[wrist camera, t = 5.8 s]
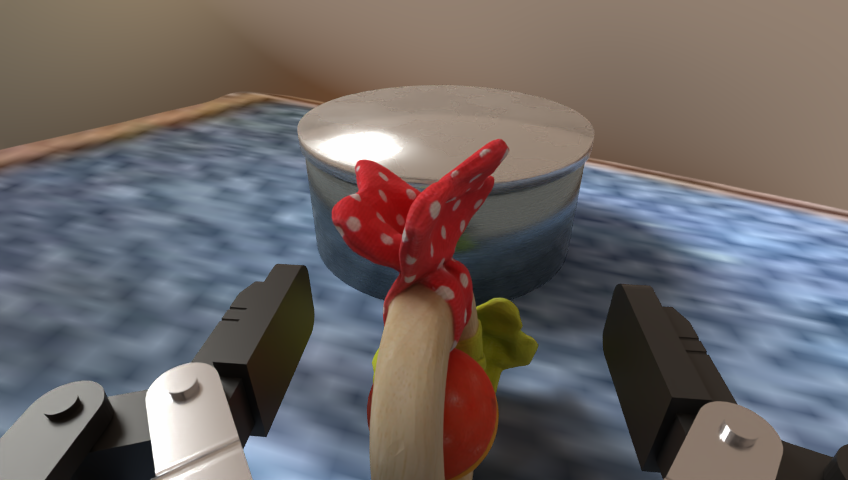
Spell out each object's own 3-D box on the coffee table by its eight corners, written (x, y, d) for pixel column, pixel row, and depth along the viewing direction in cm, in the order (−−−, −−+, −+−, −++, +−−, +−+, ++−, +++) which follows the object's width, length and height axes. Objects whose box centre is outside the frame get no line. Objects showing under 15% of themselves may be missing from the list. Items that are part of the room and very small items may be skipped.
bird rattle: (540, 568, 15) (531, 309, 20) (683, 570, 6) (598, 91, 11) (346, 545, 15) (386, 299, 20) (191, 512, 6) (333, 85, 11)
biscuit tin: (598, 323, 22) (633, 184, 18) (274, 303, 23) (246, 169, 19) (550, 184, 35) (566, 88, 31) (347, 176, 36) (338, 82, 32)
